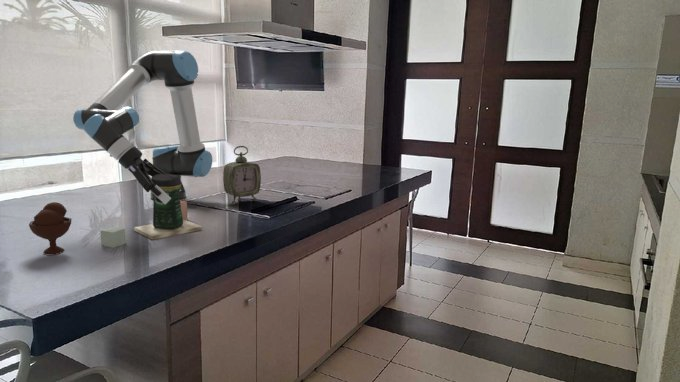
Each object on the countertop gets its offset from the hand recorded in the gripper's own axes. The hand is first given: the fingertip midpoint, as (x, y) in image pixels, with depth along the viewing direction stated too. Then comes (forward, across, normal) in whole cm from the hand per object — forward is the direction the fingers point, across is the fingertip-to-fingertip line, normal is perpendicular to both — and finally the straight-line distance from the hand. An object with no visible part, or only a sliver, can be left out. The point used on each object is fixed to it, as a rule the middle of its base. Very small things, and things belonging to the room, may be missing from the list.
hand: (173, 197), depth 169 cm
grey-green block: (-2, +16, -19) cm, 25 cm away
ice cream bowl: (-13, +23, -30) cm, 40 cm away
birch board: (+7, 0, -10) cm, 12 cm away
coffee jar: (+6, 0, -9) cm, 11 cm away
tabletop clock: (+21, -44, +4) cm, 49 cm away
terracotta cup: (+6, -14, -11) cm, 19 cm away
